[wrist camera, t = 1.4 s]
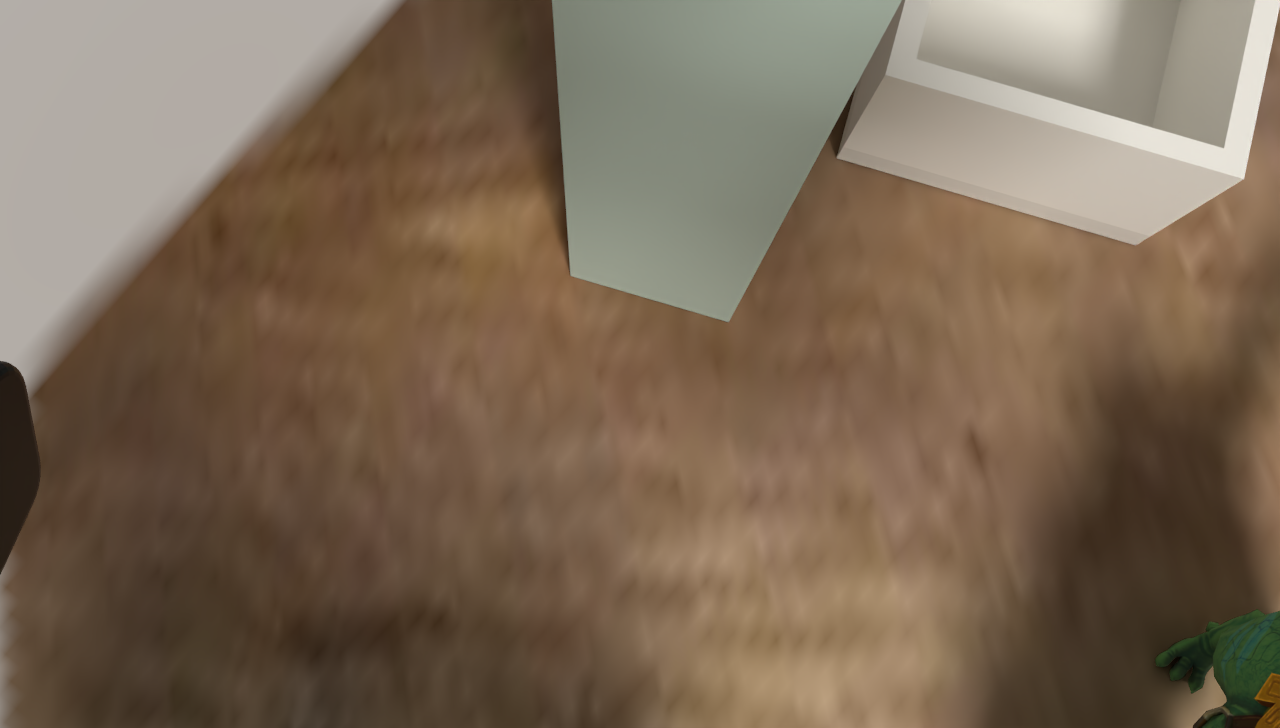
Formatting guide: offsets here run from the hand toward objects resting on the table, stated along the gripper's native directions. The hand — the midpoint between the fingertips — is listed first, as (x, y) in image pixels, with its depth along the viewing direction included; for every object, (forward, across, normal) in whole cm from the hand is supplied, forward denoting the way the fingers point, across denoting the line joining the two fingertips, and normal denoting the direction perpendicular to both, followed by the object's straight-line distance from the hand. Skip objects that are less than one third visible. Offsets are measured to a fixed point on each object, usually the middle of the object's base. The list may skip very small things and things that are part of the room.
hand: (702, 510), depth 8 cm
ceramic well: (+17, -6, +2) cm, 18 cm away
